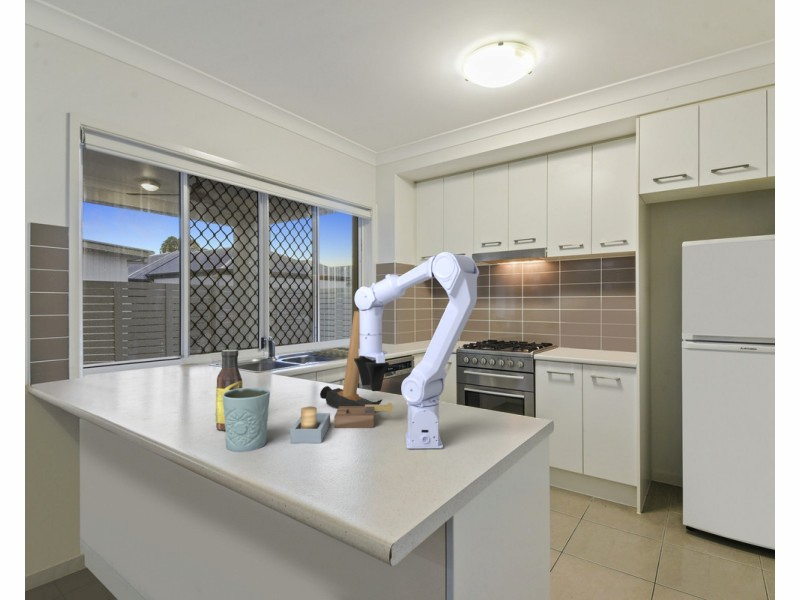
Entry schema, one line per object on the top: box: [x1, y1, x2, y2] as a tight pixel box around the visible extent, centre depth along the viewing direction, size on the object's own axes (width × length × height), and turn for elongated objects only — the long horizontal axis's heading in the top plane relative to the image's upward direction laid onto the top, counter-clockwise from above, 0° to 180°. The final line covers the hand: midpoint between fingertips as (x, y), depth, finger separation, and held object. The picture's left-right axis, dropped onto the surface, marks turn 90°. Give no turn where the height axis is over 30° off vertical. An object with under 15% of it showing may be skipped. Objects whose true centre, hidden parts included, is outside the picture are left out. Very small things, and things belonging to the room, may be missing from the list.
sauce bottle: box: [215, 349, 243, 431], centre depth 107 cm, size 7×6×20 cm
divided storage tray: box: [289, 412, 331, 444], centre depth 102 cm, size 14×7×3 cm, turn 1°
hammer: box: [319, 310, 383, 409], centre depth 124 cm, size 20×5×30 cm, turn 56°
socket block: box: [333, 404, 376, 429], centre depth 111 cm, size 10×10×4 cm
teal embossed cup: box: [222, 387, 271, 453], centre depth 94 cm, size 10×10×12 cm
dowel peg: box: [300, 406, 318, 429], centre depth 99 cm, size 4×4×7 cm
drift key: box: [365, 402, 393, 414], centre depth 111 cm, size 3×7×2 cm, turn 91°
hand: (371, 387), depth 106 cm, fingers open, 7 cm apart
